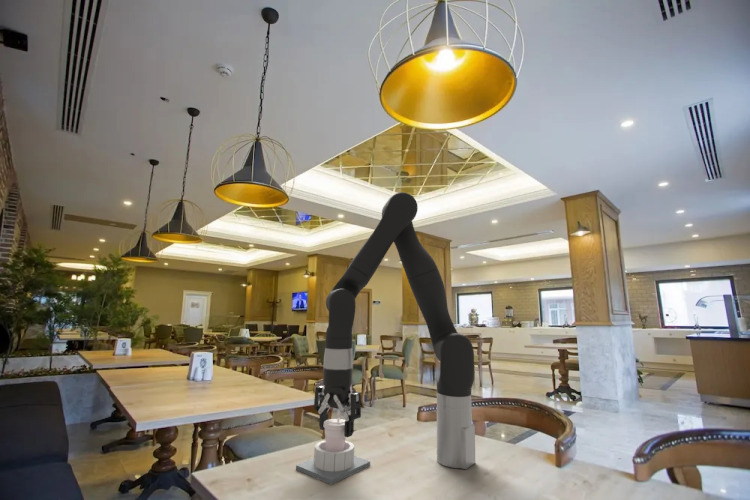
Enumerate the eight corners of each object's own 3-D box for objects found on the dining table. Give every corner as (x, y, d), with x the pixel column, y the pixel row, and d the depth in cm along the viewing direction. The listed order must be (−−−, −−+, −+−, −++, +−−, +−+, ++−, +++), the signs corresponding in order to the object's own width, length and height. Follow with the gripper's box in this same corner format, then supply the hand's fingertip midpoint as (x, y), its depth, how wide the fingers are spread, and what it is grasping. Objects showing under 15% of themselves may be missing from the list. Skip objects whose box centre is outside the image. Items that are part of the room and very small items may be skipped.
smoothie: (345, 469, 89) (348, 407, 91) (319, 468, 89) (322, 406, 91) (348, 458, 95) (350, 401, 98) (323, 457, 95) (326, 400, 98)
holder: (370, 465, 94) (370, 444, 95) (331, 484, 83) (332, 460, 84) (335, 453, 101) (336, 434, 102) (295, 469, 90) (297, 447, 91)
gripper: (368, 367, 95) (366, 435, 92) (328, 362, 103) (326, 423, 101) (348, 370, 89) (346, 443, 86) (308, 364, 97) (305, 430, 95)
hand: (335, 432), depth 93 cm, fingers open, 8 cm apart
